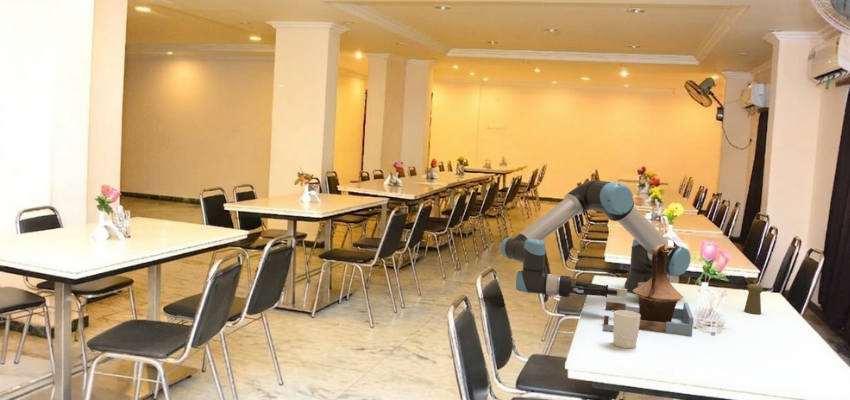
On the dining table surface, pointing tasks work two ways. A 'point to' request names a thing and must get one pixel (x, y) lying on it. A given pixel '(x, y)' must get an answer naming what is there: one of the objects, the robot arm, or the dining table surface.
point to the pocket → (679, 327)
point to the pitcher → (658, 290)
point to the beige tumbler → (626, 328)
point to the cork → (753, 299)
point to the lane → (643, 323)
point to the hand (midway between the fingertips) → (626, 293)
